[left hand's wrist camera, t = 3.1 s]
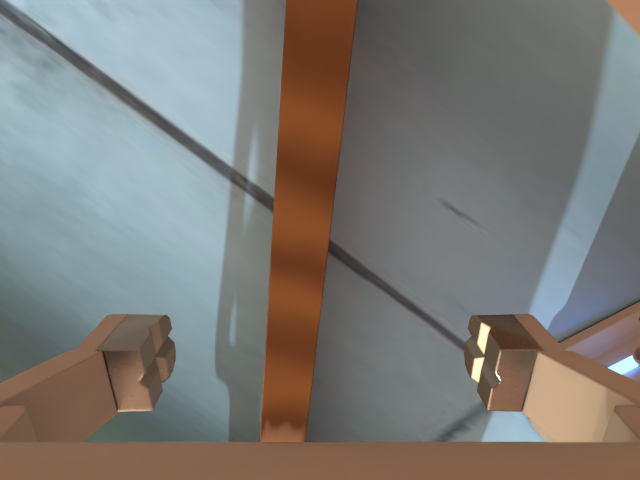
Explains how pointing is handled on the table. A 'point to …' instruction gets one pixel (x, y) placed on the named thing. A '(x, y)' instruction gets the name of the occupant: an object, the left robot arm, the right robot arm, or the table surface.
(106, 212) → the table surface
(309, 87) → the bar
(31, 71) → the table surface
